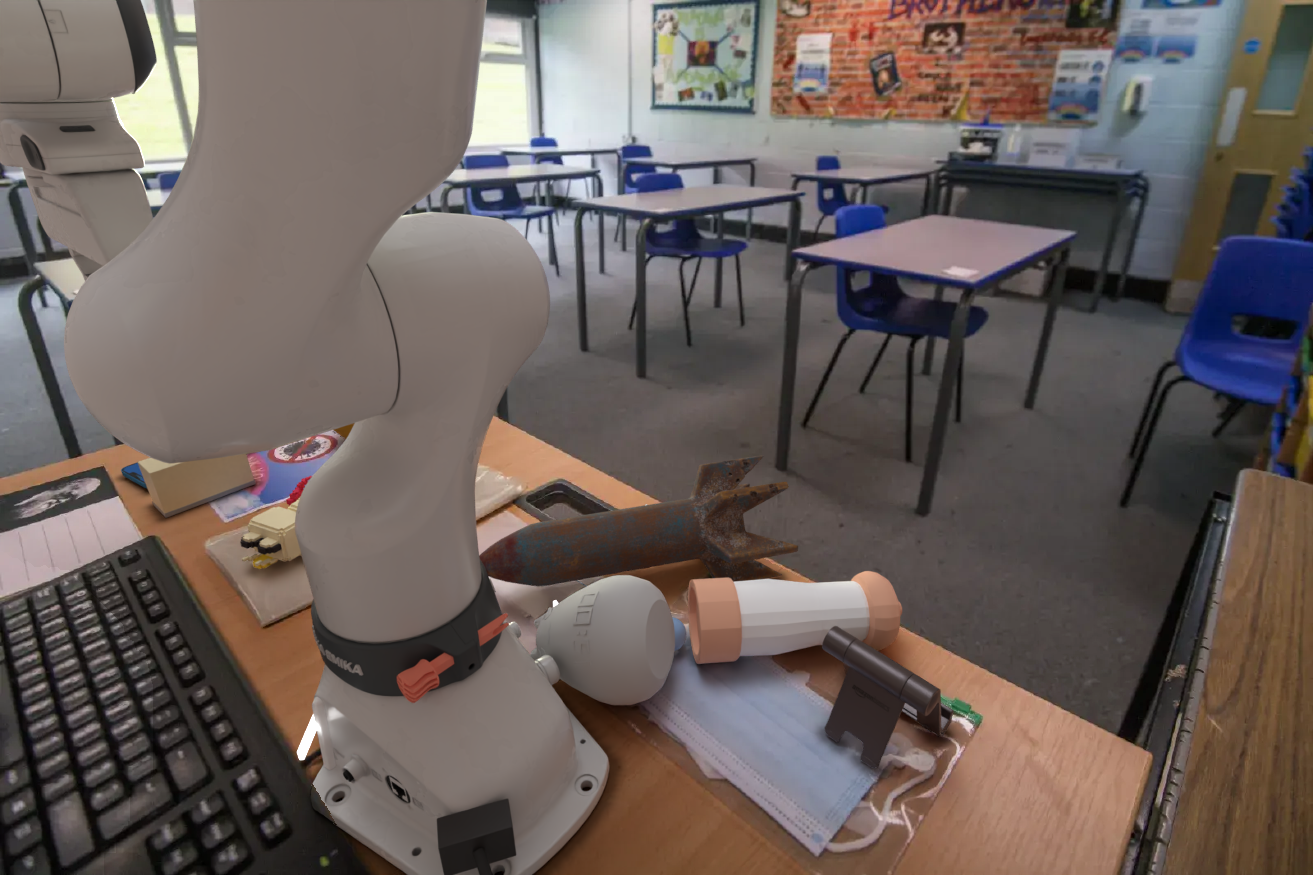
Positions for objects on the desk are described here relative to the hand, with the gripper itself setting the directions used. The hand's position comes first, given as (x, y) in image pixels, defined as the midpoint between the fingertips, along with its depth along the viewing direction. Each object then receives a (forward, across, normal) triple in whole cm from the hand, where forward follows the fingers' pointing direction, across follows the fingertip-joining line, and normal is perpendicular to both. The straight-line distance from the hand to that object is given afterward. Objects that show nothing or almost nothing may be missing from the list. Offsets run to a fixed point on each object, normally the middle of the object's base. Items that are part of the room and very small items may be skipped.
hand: (118, 301), depth 64 cm
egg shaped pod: (+27, +41, +21) cm, 53 cm away
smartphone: (+27, -20, +6) cm, 34 cm away
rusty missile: (+22, +32, +13) cm, 41 cm away
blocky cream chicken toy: (+27, +7, +13) cm, 31 cm away
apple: (+27, -9, +24) cm, 37 cm away
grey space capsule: (+21, +52, +17) cm, 59 cm away
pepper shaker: (+23, +51, +22) cm, 60 cm away
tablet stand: (+27, +67, +25) cm, 77 cm away
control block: (+27, -10, +4) cm, 29 cm away
